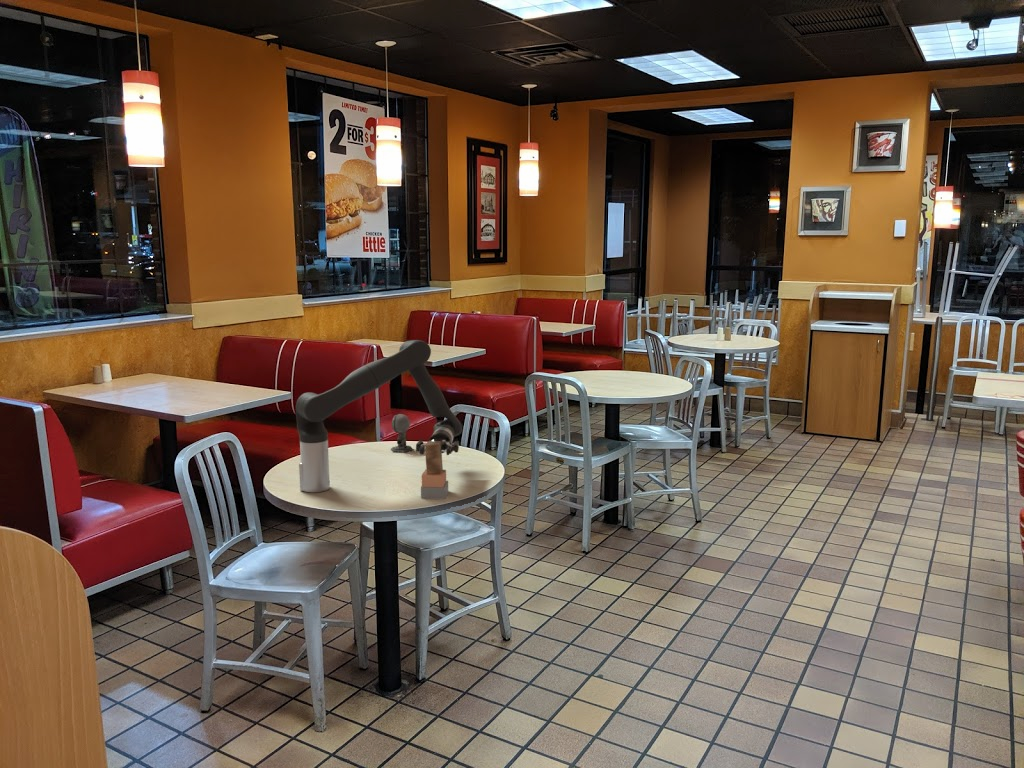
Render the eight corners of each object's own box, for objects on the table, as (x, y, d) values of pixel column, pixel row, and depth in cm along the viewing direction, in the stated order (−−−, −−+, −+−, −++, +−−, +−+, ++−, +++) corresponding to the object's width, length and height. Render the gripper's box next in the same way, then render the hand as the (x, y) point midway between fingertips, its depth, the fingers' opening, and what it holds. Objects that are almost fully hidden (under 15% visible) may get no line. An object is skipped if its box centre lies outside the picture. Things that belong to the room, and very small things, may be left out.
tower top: (421, 486, 255) (421, 475, 254) (425, 480, 262) (425, 469, 261) (442, 487, 254) (442, 475, 254) (446, 481, 261) (446, 469, 261)
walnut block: (426, 474, 255) (424, 444, 254) (429, 470, 260) (427, 441, 258) (440, 473, 255) (438, 444, 253) (442, 470, 260) (440, 441, 258)
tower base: (421, 498, 255) (420, 487, 255) (425, 491, 263) (424, 480, 262) (445, 499, 255) (444, 487, 254) (448, 491, 263) (448, 480, 262)
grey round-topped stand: (394, 446, 320) (393, 411, 317) (416, 447, 318) (416, 412, 316) (387, 452, 312) (386, 416, 309) (410, 453, 310) (409, 417, 307)
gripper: (421, 429, 271) (413, 440, 255) (461, 429, 270) (456, 441, 255) (421, 449, 273) (413, 462, 257) (461, 450, 272) (456, 463, 256)
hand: (434, 452), depth 256 cm, fingers open, 8 cm apart
